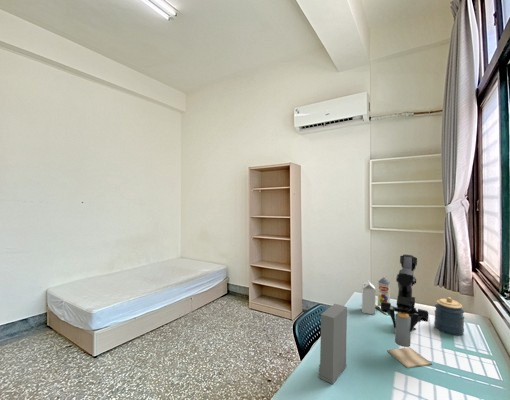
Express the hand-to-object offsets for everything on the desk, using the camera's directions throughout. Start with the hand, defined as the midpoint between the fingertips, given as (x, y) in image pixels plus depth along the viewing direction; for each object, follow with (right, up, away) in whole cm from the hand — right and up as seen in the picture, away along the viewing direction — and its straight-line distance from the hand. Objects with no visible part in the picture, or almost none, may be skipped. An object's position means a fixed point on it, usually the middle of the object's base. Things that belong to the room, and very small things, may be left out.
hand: (402, 329), depth 116 cm
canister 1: (+1, -7, +1) cm, 7 cm away
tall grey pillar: (-34, -12, -10) cm, 37 cm away
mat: (+3, -12, 0) cm, 13 cm away
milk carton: (+5, -12, +48) cm, 50 cm away
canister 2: (+39, -13, +26) cm, 49 cm away
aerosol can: (+17, -12, +53) cm, 57 cm away
